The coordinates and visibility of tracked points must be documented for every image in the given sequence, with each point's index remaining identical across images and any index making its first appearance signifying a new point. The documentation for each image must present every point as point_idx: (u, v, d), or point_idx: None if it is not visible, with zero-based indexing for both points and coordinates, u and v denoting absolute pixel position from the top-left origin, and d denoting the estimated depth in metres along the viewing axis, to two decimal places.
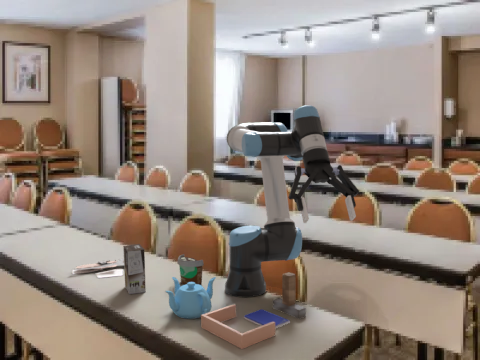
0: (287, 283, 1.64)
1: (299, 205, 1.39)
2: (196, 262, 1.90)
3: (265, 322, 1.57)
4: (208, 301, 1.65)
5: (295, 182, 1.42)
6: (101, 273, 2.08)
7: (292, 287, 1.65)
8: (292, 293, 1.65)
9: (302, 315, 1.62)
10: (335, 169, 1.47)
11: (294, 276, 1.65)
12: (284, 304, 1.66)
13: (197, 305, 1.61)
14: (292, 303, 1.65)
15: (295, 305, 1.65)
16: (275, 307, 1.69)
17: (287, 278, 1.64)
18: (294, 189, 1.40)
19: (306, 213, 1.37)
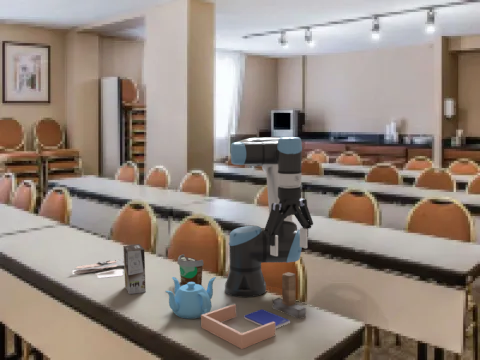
0: (287, 283, 1.64)
1: (272, 242, 1.58)
2: (196, 262, 1.90)
3: (265, 322, 1.57)
4: (208, 301, 1.65)
5: (273, 221, 1.56)
6: (101, 273, 2.08)
7: (292, 287, 1.65)
8: (292, 293, 1.65)
9: (302, 315, 1.62)
10: (301, 202, 1.65)
11: (294, 276, 1.65)
12: (284, 304, 1.66)
13: (197, 305, 1.61)
14: (292, 303, 1.65)
15: (295, 305, 1.65)
16: (275, 307, 1.69)
17: (287, 278, 1.64)
18: (272, 228, 1.56)
19: (277, 251, 1.58)
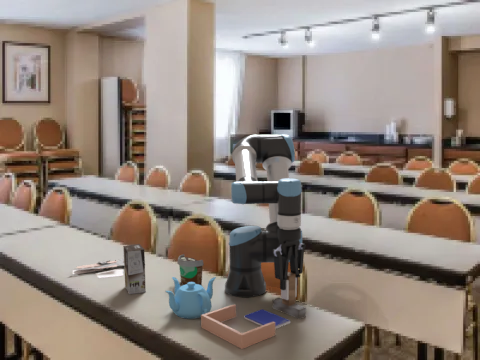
0: None
1: (283, 287, 1.63)
2: (196, 262, 1.90)
3: (265, 322, 1.57)
4: (208, 301, 1.65)
5: (280, 267, 1.60)
6: (101, 273, 2.08)
7: (292, 287, 1.65)
8: (292, 293, 1.65)
9: (302, 315, 1.62)
10: (300, 245, 1.67)
11: (294, 276, 1.65)
12: (284, 304, 1.66)
13: (197, 305, 1.61)
14: (292, 303, 1.65)
15: (295, 305, 1.65)
16: (275, 307, 1.69)
17: (287, 277, 1.64)
18: (281, 273, 1.61)
19: (287, 294, 1.64)
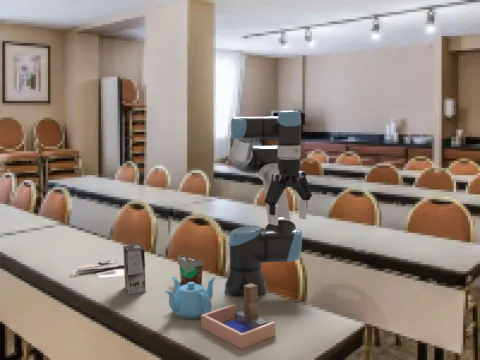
0: (248, 295, 1.53)
1: (272, 212, 1.64)
2: (196, 262, 1.90)
3: None
4: (208, 301, 1.65)
5: (274, 191, 1.62)
6: (102, 273, 2.08)
7: (254, 299, 1.54)
8: (254, 306, 1.54)
9: None
10: (300, 174, 1.71)
11: (256, 288, 1.54)
12: (246, 317, 1.55)
13: (197, 305, 1.61)
14: (254, 316, 1.55)
15: (257, 319, 1.54)
16: (237, 320, 1.59)
17: (248, 290, 1.53)
18: (272, 198, 1.62)
19: (277, 220, 1.64)
